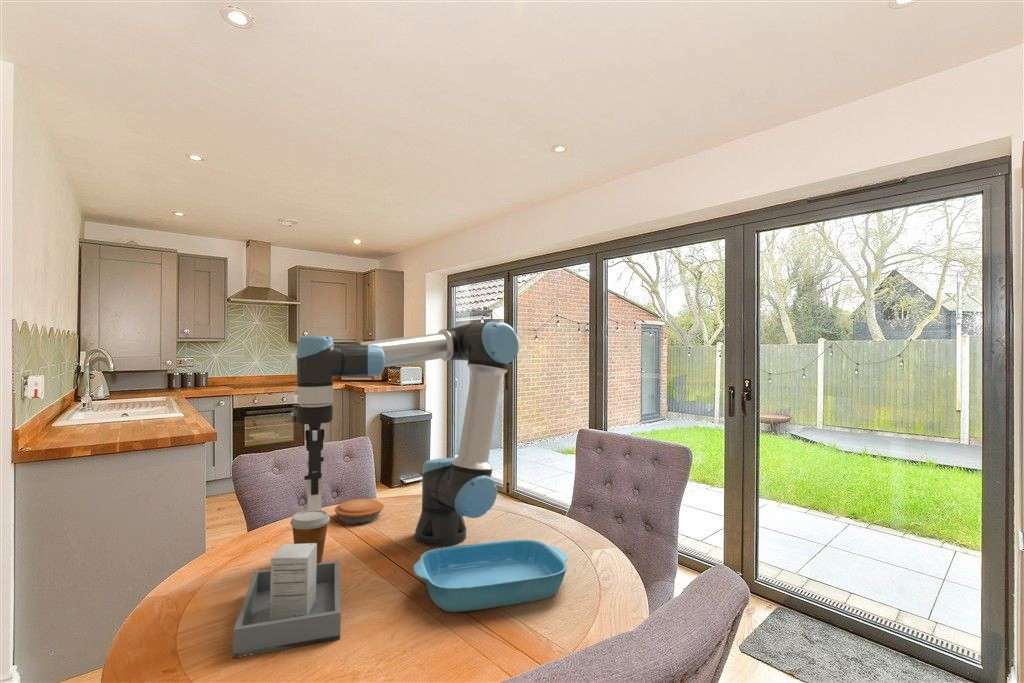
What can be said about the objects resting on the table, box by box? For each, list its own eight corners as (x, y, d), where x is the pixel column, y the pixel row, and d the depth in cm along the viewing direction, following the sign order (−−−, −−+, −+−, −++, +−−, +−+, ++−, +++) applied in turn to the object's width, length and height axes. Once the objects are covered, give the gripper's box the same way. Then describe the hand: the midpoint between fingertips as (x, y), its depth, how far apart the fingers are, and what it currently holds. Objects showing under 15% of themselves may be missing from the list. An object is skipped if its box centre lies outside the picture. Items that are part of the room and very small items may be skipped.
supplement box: (280, 602, 103) (282, 543, 103) (316, 601, 104) (318, 542, 104) (267, 622, 95) (269, 558, 96) (306, 620, 96) (308, 556, 96)
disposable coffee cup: (314, 571, 119) (315, 523, 119) (280, 567, 121) (282, 519, 121) (336, 555, 128) (337, 510, 129) (304, 552, 130) (305, 507, 130)
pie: (355, 530, 147) (356, 514, 147) (324, 520, 155) (324, 504, 155) (393, 516, 160) (393, 501, 160) (362, 507, 168) (363, 493, 168)
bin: (338, 581, 114) (339, 560, 114) (339, 639, 91) (340, 612, 92) (253, 593, 108) (254, 571, 108) (232, 658, 85) (233, 630, 85)
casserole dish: (545, 559, 129) (545, 533, 129) (585, 600, 108) (585, 568, 108) (406, 579, 117) (407, 549, 117) (421, 629, 96) (422, 593, 96)
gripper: (298, 399, 118) (298, 486, 117) (294, 413, 94) (293, 520, 94) (331, 398, 120) (331, 482, 120) (334, 410, 97) (334, 515, 97)
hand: (314, 499), depth 107 cm, fingers open, 13 cm apart
